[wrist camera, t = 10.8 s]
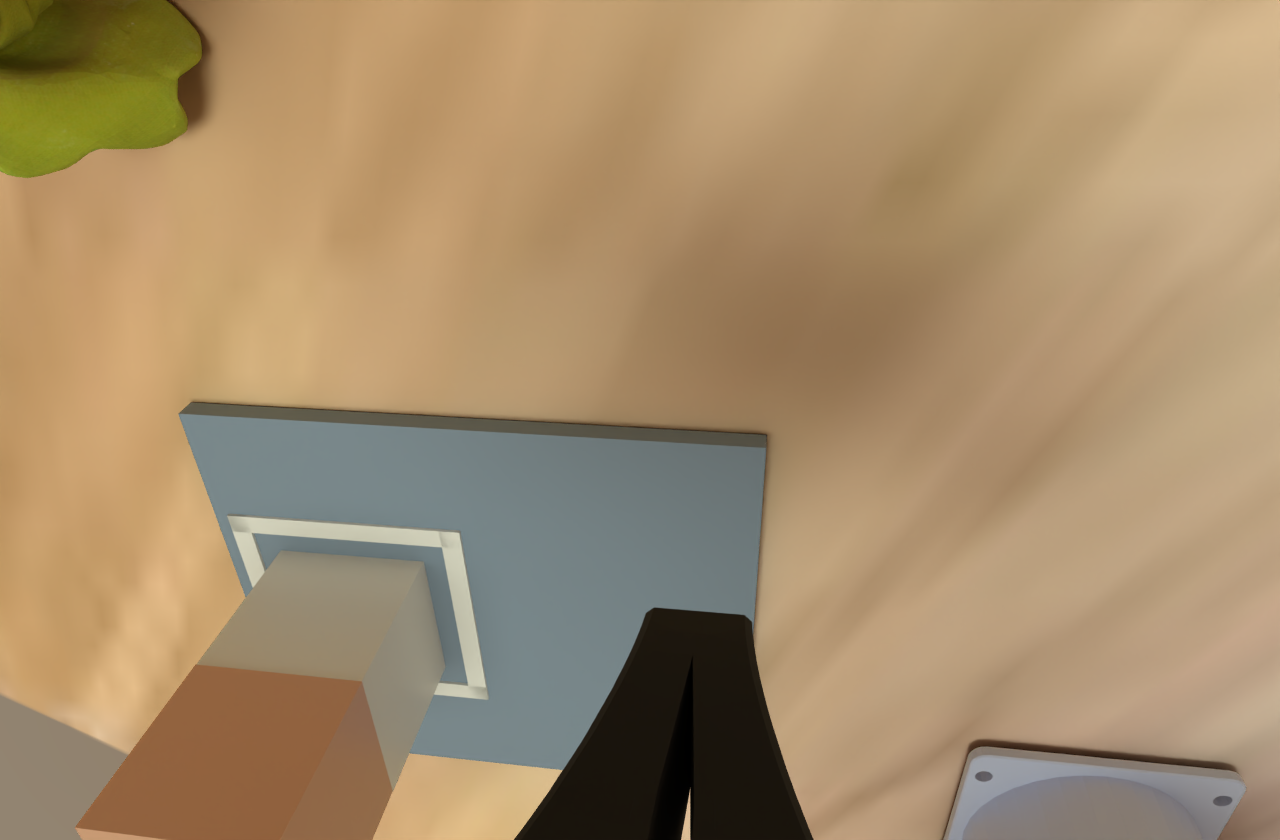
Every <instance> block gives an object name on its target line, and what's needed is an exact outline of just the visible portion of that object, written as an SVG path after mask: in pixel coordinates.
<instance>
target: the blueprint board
mask: <svg viewBox="0 0 1280 840" xmlns="http://www.w3.org/2000/svg"><path fill="white" fill-rule="evenodd" d="M179 417H180V419H181V422H182V425H183V428H184V430H185V433H186V436H187V439H188V441H189V444H190V447H191V449H192V452H193V455H194V458H195V460H196V463H197V466H198V469H199V471H200V474H201V477H202V479H203V482H204V485H205V488H206V490H207V493H208V496H209V498H210V501H211V504H212V507H213V509H214V512H215V515H216V518H217V520H218V523H219V526H220V528H221V531H222V534H223V537H224V539H225V542H226V545H227V547H228V550H229V553H230V556H231V558H232V561H233V564H234V567H235V569H236V572H237V575H238V577H239V580H240V583H241V586H242V588H243V591H244V594H245V596H246V597H247V595H248V594H249V593H250V591H251V590H252V589H253V587H254V586H255V585H256V583H257V582H258V581H259V579H260V578H261V577H262V575H263V574H264V573H265V571H266V570H267V568H268V567H269V566H270V564H271V563H272V562H273V560H274V559H275V558H276V556H277V555H278V554H279V552H280V551H281V550H283V551H295V552H308V553H321V554H333V555H346V556H359V557H371V558H384V559H397V560H409V561H422V562H424V565H425V570H426V575H427V580H428V585H429V589H430V594H431V599H432V604H433V609H434V613H435V618H436V623H437V628H438V633H439V637H440V642H441V647H442V652H443V657H444V662H445V666H446V667H445V669H444V672H443V674H442V676H441V679H440V681H439V683H438V686H437V688H436V691H435V693H434V695H433V698H432V700H431V702H430V705H429V707H428V710H427V712H426V714H425V717H424V719H423V721H422V724H421V726H420V729H419V731H418V733H417V736H416V738H415V740H414V743H413V745H412V748H411V750H410V752H409V753H412V754H421V755H430V756H439V757H449V758H458V759H467V760H476V761H485V762H495V763H504V764H513V765H522V766H531V767H541V768H550V769H559V770H563V769H564V768H565V766H566V765H567V763H568V762H569V760H570V759H571V757H572V756H573V754H574V752H575V751H576V749H577V748H578V746H579V745H580V743H581V742H582V740H583V738H584V737H585V735H586V733H587V732H588V730H589V728H590V726H591V725H592V723H593V721H594V719H595V718H596V716H597V714H598V712H599V711H600V709H601V707H602V705H603V704H604V702H605V700H606V698H607V697H608V695H609V693H610V691H611V690H612V688H613V686H614V684H615V682H616V680H617V678H618V676H619V674H620V672H621V670H622V668H623V666H624V664H625V662H626V660H627V658H628V656H629V654H630V652H631V649H632V647H633V645H634V643H635V640H636V638H637V636H638V633H639V631H640V628H641V626H642V623H643V620H644V617H645V614H646V612H648V611H649V610H651V609H652V608H654V607H656V608H668V609H680V610H692V611H704V612H716V613H728V614H740V615H745V616H746V617H747V618H749V619H750V620H751V621H752V629H754V614H755V600H756V586H757V572H758V558H759V544H760V530H761V516H762V501H763V487H764V473H765V459H766V437H767V435H759V434H741V433H723V432H706V431H688V430H670V429H652V428H635V427H617V426H599V425H581V424H564V423H546V422H528V421H510V420H493V419H475V418H457V417H439V416H422V415H404V414H386V413H368V412H351V411H333V410H315V409H297V408H280V407H262V406H244V405H226V404H209V403H190V404H189V405H188V406H187V407H185V408H184V409H183V410H182V411H181V412H180V413H179Z"/></svg>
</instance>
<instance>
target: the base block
mask: <svg viewBox="0 0 1280 840" xmlns="http://www.w3.org/2000/svg"><path fill="white" fill-rule="evenodd" d="M196 665H206V666H216V667H225V668H235V669H245V670H255V671H265V672H274V673H284V674H294V675H304V676H314V677H323V678H333V679H343V680H353V681H362V683H363V687H364V690H365V694H366V698H367V701H368V705H369V708H370V712H371V715H372V719H373V723H374V726H375V730H376V733H377V737H378V740H379V744H380V747H381V751H382V755H383V758H384V762H385V765H386V769H387V772H388V776H389V780H390V783H391V787H392V790H394V788H395V786H396V783H397V781H398V778H399V776H400V774H401V771H402V769H403V767H404V764H405V762H406V759H407V757H408V755H409V752H410V750H411V748H412V745H413V743H414V740H415V738H416V736H417V733H418V731H419V729H420V726H421V724H422V721H423V719H424V717H425V714H426V712H427V710H428V707H429V705H430V702H431V700H432V698H433V695H434V693H435V691H436V688H437V686H438V683H439V681H440V679H441V676H442V674H443V672H444V669H445V667H446V666H445V662H444V657H443V652H442V647H441V642H440V637H439V633H438V628H437V623H436V618H435V613H434V609H433V604H432V599H431V594H430V589H429V585H428V580H427V575H426V570H425V565H424V562H422V561H409V560H397V559H384V558H371V557H359V556H346V555H333V554H321V553H308V552H295V551H283V550H281V551H280V552H279V554H278V555H277V556H276V558H275V559H274V560H273V562H272V563H271V564H270V566H269V567H268V568H267V570H266V571H265V573H264V574H263V575H262V577H261V578H260V579H259V581H258V582H257V583H256V585H255V586H254V587H253V589H252V590H251V591H250V593H249V594H248V595H247V597H246V598H245V600H244V601H243V602H242V604H241V605H240V606H239V608H238V609H237V610H236V612H235V613H234V614H233V616H232V617H231V618H230V620H229V621H228V623H227V624H226V625H225V627H224V628H223V629H222V631H221V632H220V633H219V635H218V636H217V637H216V639H215V640H214V641H213V643H212V644H211V645H210V647H209V648H208V650H207V651H206V652H205V654H204V655H203V656H202V658H201V659H200V660H199V662H198V663H197V664H196Z"/></svg>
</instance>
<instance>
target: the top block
mask: <svg viewBox="0 0 1280 840" xmlns="http://www.w3.org/2000/svg"><path fill="white" fill-rule="evenodd" d="M392 791H393V790H392V787H391V783H390V780H389V776H388V772H387V769H386V765H385V762H384V758H383V755H382V751H381V747H380V744H379V740H378V737H377V733H376V730H375V726H374V723H373V719H372V715H371V712H370V708H369V705H368V701H367V698H366V694H365V690H364V687H363V683H362V681H353V680H343V679H333V678H323V677H314V676H304V675H294V674H284V673H274V672H265V671H255V670H245V669H235V668H225V667H216V666H206V665H195V666H194V667H193V669H192V670H191V672H190V673H189V674H188V676H187V677H186V678H185V680H184V681H183V682H182V684H181V685H180V686H179V688H178V689H177V690H176V692H175V693H174V694H173V696H172V697H171V699H170V700H169V701H168V703H167V704H166V705H165V707H164V708H163V709H162V711H161V712H160V713H159V715H158V716H157V717H156V719H155V720H154V721H153V723H152V724H151V726H150V727H149V728H148V730H147V731H146V732H145V734H144V735H143V736H142V738H141V739H140V740H139V742H138V743H137V744H136V746H135V747H134V748H133V750H132V751H131V753H130V754H129V755H128V757H127V758H126V759H125V761H124V762H123V763H122V765H121V766H120V767H119V769H118V770H117V771H116V773H115V774H114V776H113V777H112V778H111V780H110V781H109V782H108V784H107V785H106V786H105V788H104V789H103V790H102V792H101V793H100V794H99V796H98V797H97V798H96V800H95V801H94V802H93V804H92V805H91V807H90V808H89V809H88V811H87V812H86V813H85V815H84V816H83V817H82V819H81V820H80V821H79V823H78V824H77V825H76V827H75V829H76V830H77V832H78V833H79V835H80V837H81V838H82V840H372V839H373V836H374V834H375V832H376V829H377V827H378V825H379V822H380V820H381V817H382V815H383V813H384V810H385V808H386V806H387V803H388V801H389V799H390V796H391V794H392Z"/></svg>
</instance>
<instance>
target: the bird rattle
mask: <svg viewBox="0 0 1280 840" xmlns="http://www.w3.org/2000/svg"><path fill="white" fill-rule="evenodd" d="M201 57H202V44H201V39H200V36H199V34H198V32H197V31H196V30H195V28H194V27H193V26H192V25H191V24H190V23H189V21H188V20H187V19H186V18H185V17H184V16H183V15H182V14H181V13H180V12H179V11H178V10H177V9H176V8H175V7H174V6H173V5H172V4H170V3H169V2H168V1H166V0H0V171H1V172H3V173H5V174H7V175H11V176H16V177H23V178H31V177H37V176H42V175H45V174H49V173H52V172H56V171H60V170H63V169H66V168H68V167H70V166H71V165H73V164H75V163H76V162H78V161H79V160H81V159H82V158H83V157H84V156H85V155H87V154H88V153H90V152H92V151H95V150H97V149H146V148H153V147H158V146H163V145H165V144H168V143H170V142H171V141H173V140H174V139H176V138H177V137H179V136H180V135H182V134H183V133H185V132H186V131H187V126H188V119H187V116H186V113H185V111H184V109H183V107H182V105H181V103H180V102H179V100H178V79H179V77H180V76H182V75H183V74H184V73H186V72H187V71H188V70H190V69H191V68H192V67H194V66H195V65H196V64H197V63H198V62H199V61H200V59H201Z"/></svg>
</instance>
